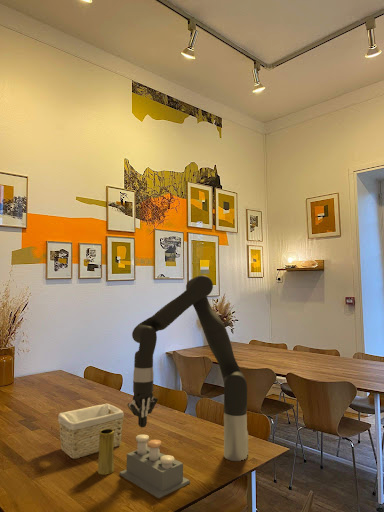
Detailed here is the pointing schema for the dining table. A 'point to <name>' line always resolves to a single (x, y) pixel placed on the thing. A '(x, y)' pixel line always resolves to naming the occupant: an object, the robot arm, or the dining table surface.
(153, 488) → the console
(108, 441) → the vase
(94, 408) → the storage basket
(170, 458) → the knob near
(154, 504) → the dining table surface
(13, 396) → the dining table surface
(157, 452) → the knob mid
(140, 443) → the knob far
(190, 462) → the dining table surface
